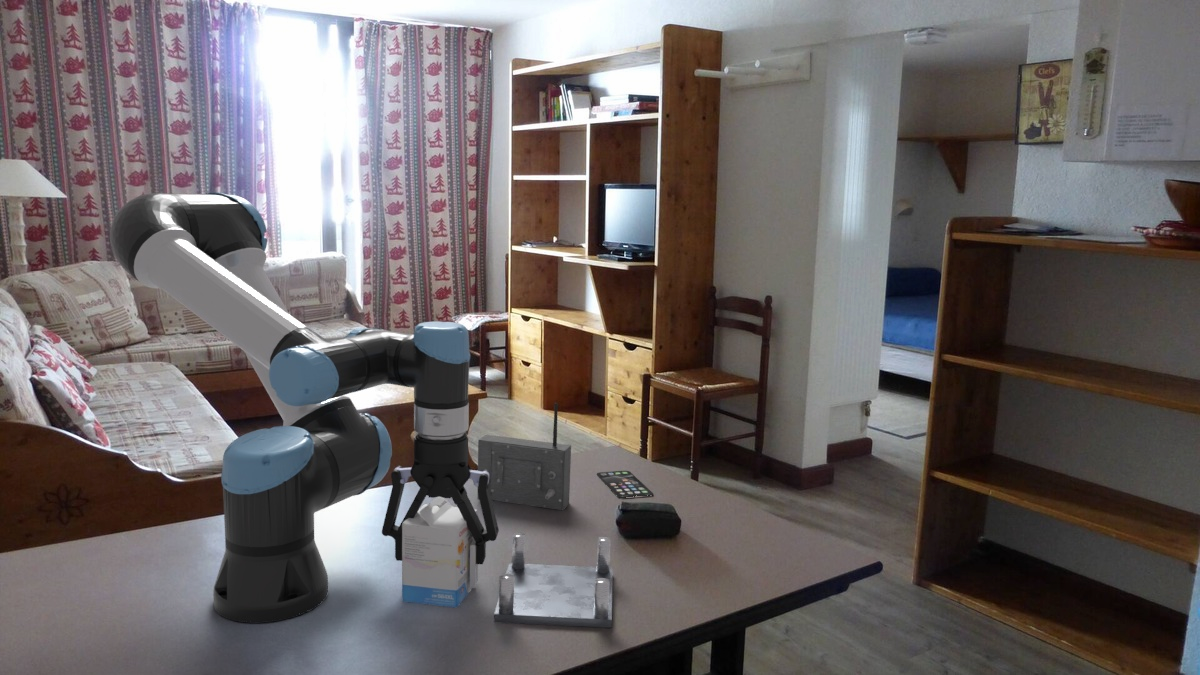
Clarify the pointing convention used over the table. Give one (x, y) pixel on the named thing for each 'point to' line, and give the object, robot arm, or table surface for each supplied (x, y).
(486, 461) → the electronic device
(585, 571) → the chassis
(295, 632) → the table surface
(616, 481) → the smartphone
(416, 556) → the ink box
